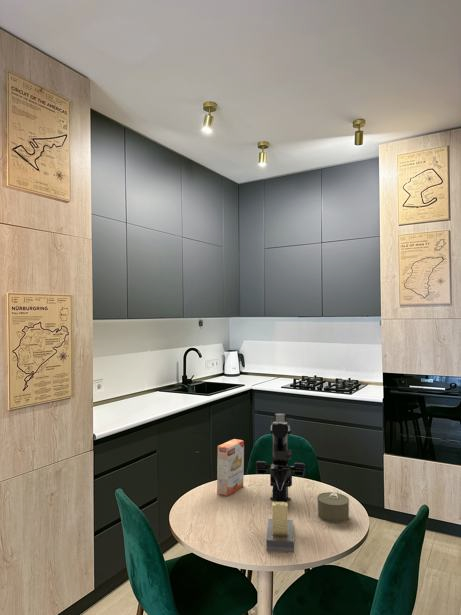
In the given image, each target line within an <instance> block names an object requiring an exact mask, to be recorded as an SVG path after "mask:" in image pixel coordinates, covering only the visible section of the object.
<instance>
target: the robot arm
mask: <svg viewBox="0 0 461 615" xmlns="http://www.w3.org/2000/svg"><path fill="white" fill-rule="evenodd" d="M291 433H292V428H291V427H290V420H289V418H288V417H287V414H285V413H274V416H273V418H271V424H270V435H272V464H267V461H264V460H256V461H255V473H256V474H257V475H265V474H266V473H267V471H270V472H269V473H270V475H269V478H270V480H269V481H270V483H269V484H270V485H269V486H270V487H272V492H271V494H272V496H270V498H269V499H270V500H271V501H272V502H273V501H274V502H288V501H291V499H292V498H291V497H289V488H291V486H293V475H292V474H291V472H293V474H294V475H295V476H296V477H297V476H298V477H305V474H306V464H305V463H304V462H294V465H289V460H291V459H292V456H293V451H292V450H293V449H288V436H289V435H290V434H291Z"/></svg>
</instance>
